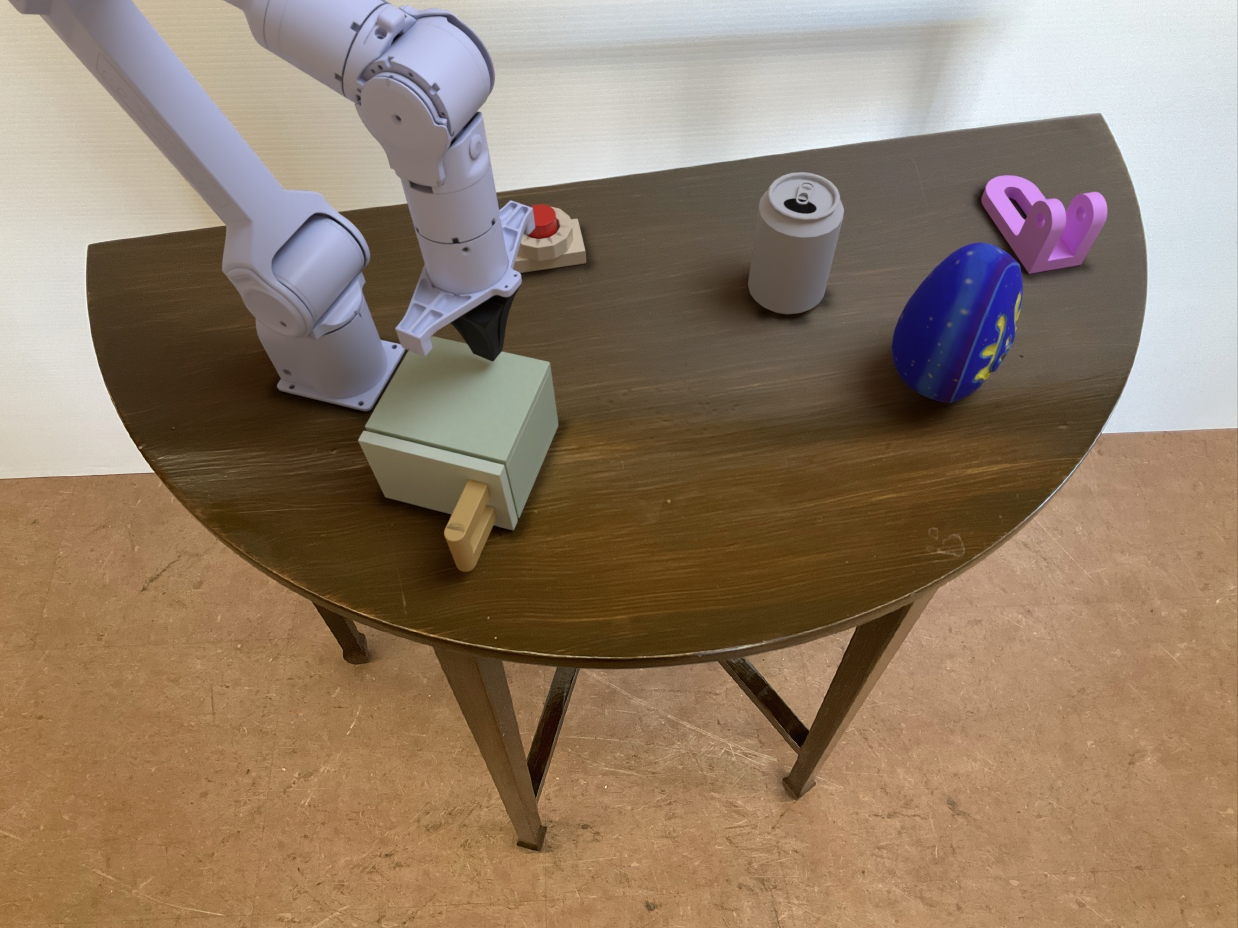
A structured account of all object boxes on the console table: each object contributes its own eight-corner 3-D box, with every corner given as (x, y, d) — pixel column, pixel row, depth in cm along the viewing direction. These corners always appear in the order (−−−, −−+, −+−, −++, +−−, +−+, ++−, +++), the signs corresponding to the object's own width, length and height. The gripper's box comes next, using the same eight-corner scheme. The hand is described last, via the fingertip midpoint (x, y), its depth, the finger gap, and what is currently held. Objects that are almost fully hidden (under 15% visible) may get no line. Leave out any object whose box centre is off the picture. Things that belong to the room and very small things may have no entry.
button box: (509, 278, 86) (504, 252, 83) (502, 238, 90) (497, 211, 87) (587, 267, 87) (585, 240, 84) (577, 227, 90) (575, 200, 87)
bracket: (1081, 264, 85) (1113, 208, 80) (1029, 273, 85) (1057, 218, 79) (1021, 182, 93) (1046, 126, 87) (972, 190, 92) (994, 133, 86)
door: (489, 587, 67) (472, 536, 60) (356, 551, 69) (324, 497, 62) (518, 520, 70) (504, 464, 63) (390, 487, 72) (363, 430, 66)
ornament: (952, 441, 74) (1015, 321, 61) (858, 390, 77) (900, 266, 65) (1007, 364, 79) (1076, 237, 66) (917, 319, 82) (966, 190, 69)
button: (527, 241, 85) (525, 228, 83) (523, 220, 86) (521, 206, 85) (559, 237, 85) (557, 223, 83) (554, 216, 87) (553, 202, 85)
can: (737, 308, 83) (750, 209, 73) (759, 258, 87) (774, 157, 77) (812, 328, 82) (836, 230, 72) (832, 276, 85) (857, 176, 75)
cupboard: (519, 519, 71) (505, 460, 63) (391, 486, 73) (364, 426, 66) (558, 425, 76) (550, 361, 69) (438, 397, 78) (418, 332, 71)
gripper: (443, 306, 52) (479, 436, 63) (563, 168, 59) (576, 308, 70) (350, 269, 54) (401, 402, 65) (477, 140, 61) (503, 281, 72)
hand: (487, 351), depth 68 cm, fingers closed
